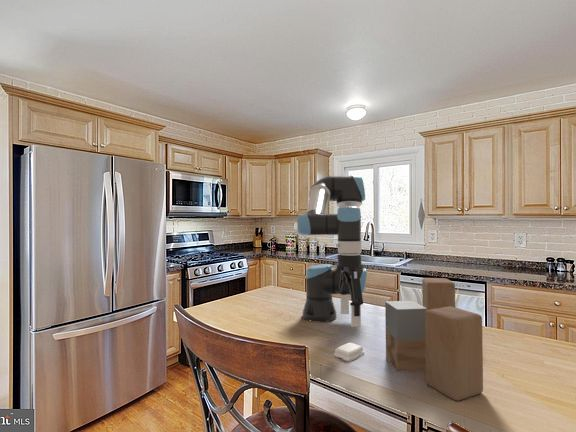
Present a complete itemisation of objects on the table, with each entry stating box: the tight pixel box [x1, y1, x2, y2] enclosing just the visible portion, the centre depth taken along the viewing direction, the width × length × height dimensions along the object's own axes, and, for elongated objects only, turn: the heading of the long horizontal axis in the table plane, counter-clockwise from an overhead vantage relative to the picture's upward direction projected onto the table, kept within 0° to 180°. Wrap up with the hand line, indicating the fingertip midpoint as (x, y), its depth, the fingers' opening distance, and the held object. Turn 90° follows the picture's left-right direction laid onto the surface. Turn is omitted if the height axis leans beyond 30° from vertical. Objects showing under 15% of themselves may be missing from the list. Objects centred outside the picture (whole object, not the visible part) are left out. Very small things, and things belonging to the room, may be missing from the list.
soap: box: [333, 342, 365, 362], centre depth 106 cm, size 9×7×3 cm
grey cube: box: [384, 300, 427, 341], centre depth 99 cm, size 9×9×9 cm
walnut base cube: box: [385, 330, 426, 373], centre depth 99 cm, size 9×9×9 cm
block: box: [425, 306, 484, 402], centre depth 84 cm, size 10×10×20 cm
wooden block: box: [421, 277, 456, 310], centre depth 127 cm, size 10×10×20 cm
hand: (350, 319), depth 105 cm, fingers open, 13 cm apart
